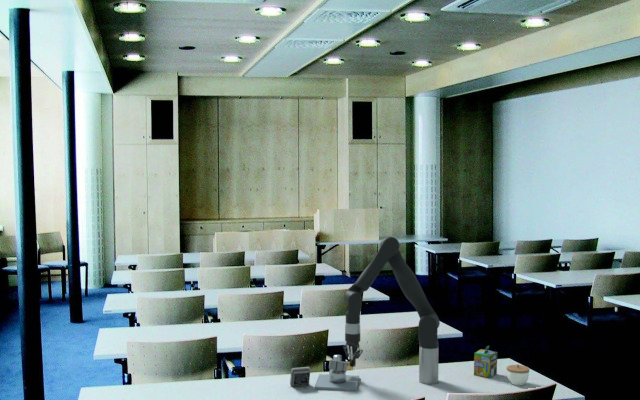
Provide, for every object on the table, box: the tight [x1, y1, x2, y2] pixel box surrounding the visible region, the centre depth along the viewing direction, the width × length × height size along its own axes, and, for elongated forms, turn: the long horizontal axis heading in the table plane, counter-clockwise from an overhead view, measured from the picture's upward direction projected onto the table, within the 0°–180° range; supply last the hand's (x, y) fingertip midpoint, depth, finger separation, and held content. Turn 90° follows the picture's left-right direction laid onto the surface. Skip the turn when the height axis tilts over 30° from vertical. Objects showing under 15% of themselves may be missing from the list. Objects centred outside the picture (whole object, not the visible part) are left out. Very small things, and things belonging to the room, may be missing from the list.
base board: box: [314, 358, 360, 392], centre depth 347 cm, size 20×20×10 cm
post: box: [328, 354, 347, 384], centre depth 347 cm, size 8×8×12 cm
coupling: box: [328, 359, 354, 372], centre depth 350 cm, size 16×8×4 cm, turn 145°
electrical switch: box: [289, 366, 311, 388], centre depth 343 cm, size 9×5×9 cm, turn 107°
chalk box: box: [473, 345, 498, 379], centre depth 362 cm, size 9×9×15 cm
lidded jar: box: [506, 364, 530, 386], centre depth 348 cm, size 11×11×9 cm
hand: (352, 366), depth 352 cm, fingers closed
